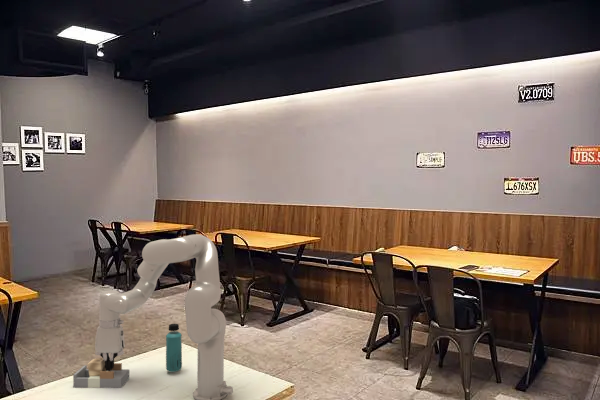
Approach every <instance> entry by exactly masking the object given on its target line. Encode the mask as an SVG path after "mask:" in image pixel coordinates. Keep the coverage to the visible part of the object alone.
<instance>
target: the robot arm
mask: <svg viewBox="0 0 600 400" xmlns="http://www.w3.org/2000/svg"><path fill="white" fill-rule="evenodd" d="M141 257H142V259H143V260H142V262H141V263H140V264H139V265H138V268H137V274H138V276H139V277H140V278H139V280H138V282H137V284H136V285H135V286H134V287H133V288H132V289H131V290H128V291H126V292H122V293H120V291H118V290H111V289H110V290H104V291H102V292H101V293H100V294H99V297H98V298H99V300H98V301H99V304H98V305H99V307H98V308H99V311H98V312H99V313H98V314H99V316H98V317H99V319H98V320H99V321H98V323H99V326H97V329H96V333H95V338H94V339H95V340H94V341H95V343H94V350H95V353H94V354H95V355H96V356H99V357H100V358H103V359H104V361H105V368H106V371H111V370H112V369H113V367H114V363H115V359H116V358H117V357H120V356H123V355H124V354H125V352H124V348H125V346H126V345H125V333H124V328H123V327H124V326H123V324H124V323H125V321H124V319H123V320H122V318H121V315H125V314H128V313H131V312H132V311H135V310H136V309H139V308H141V307H142V306H144V304H146V302H147V301H148V300H149V298H150V297H151V296H152V295H153V293H154V292H155V289H156V287H157V282H158V279H159V278H160V277H161V275H162V274H163V272H164V271H165V270H166V268H167V267H168V265H169V264H174V263H175V264H176V263H180V262H186V261H189V260H193V259H194V258H195V260H196V262H195V269H194V270H195V271H194V272H195V273H194V274H195V285H194V286H193V285H192V287H191V288H189V289H188V291H187V292H186V294H185V298H184V310H185V324H186V325H185V326H186V331H187V336H188V338H189V339H190V340H191V341H192V342H194V343H195V344H197V372H196V373H197V379H196V380H197V381H196V382H197V386H196V388H195V389H194V390H193V393H192V397H193V398H194V400H222V399H225V398H226V397H227V395H233V393H234V389H233V388H234V387H233V386H230V385H227V381H226V380H224V376H225V374H224V373H225V372H224V370H225V369H224V368H225V366H224V365H225V364H224V363H225V362H224V361H225V360H224V357H225V354H224V353H225V334H226V330H227V329H226V328H227V320H226V316H225V315H224V313H223V311H221V310H220V309H218V308H212V307H213V306H215V305H217V304H218V303H219V301H220V299H221V295H222V292H221V282H220V281H221V280H220V279H221V278H220V270H219V258H218V257H219V255H218V250H217V247H216V245H215V244H214V242H213V241H212V240H211V239H210V238H209V237H207V236H205V235H203V234H189V235H185V236H182V237H181V236H180V237H176V238H171V239H167V238H165V239H164V238H163V239H158V240H154V241H150V242H147V244H145V246H144V247H143V248H142V252H141Z"/></svg>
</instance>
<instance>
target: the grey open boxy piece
mask: <svg viewBox="0 0 600 400" xmlns="http://www.w3.org/2000/svg"><path fill="white" fill-rule="evenodd" d="M72 377H73V379H72V380H73V385H72V387H73V388H74V389H75V388H76V389H77V388H81V389H82V388H85V389H88V388H89V389H90V388H91V389H96V388H97V389H101V388H102V389H107V388H108V389H121V388H122V387H123V386H124V385H125V384H126V383H127V382H128V380H129V379H130V369H123V364H122V363H120V362H114V367H113V369H112V370H111V371H101V372H100V375H98V376H89V370H88V364H86V365H85V364H84V365H83V366H81V368H79V369H78V370H77V371H76V372H75V373H73V376H72Z"/></svg>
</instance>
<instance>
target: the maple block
mask: <svg viewBox="0 0 600 400" xmlns="http://www.w3.org/2000/svg"><path fill="white" fill-rule="evenodd" d="M87 369H88V370H89V376H98V375H100V372H101V371H106V368H105V361H104V359H103V358H102V357H97V358H92V359H91V360H90V361H89V362H88V363H87Z"/></svg>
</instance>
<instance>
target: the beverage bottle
mask: <svg viewBox="0 0 600 400" xmlns="http://www.w3.org/2000/svg"><path fill="white" fill-rule="evenodd" d="M179 329H180V327H179V323H171V324H169V325H168V331H169V332H168V333H167V334H166V336H165V338H166V339H165V340H166V342H165V344H166V345H165V346H166V347H165V350H166V351H165V369H166V371H168V372H172V373H173V372H174V373H175V372H178V371H181V369H182V367H183V366H182V365H183V362H182V361H183V358H182V352H183V351H182V350H183V349H182V348H183V347H182V346H183V343H182V333H181V332H180V331H178V330H179Z"/></svg>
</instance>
